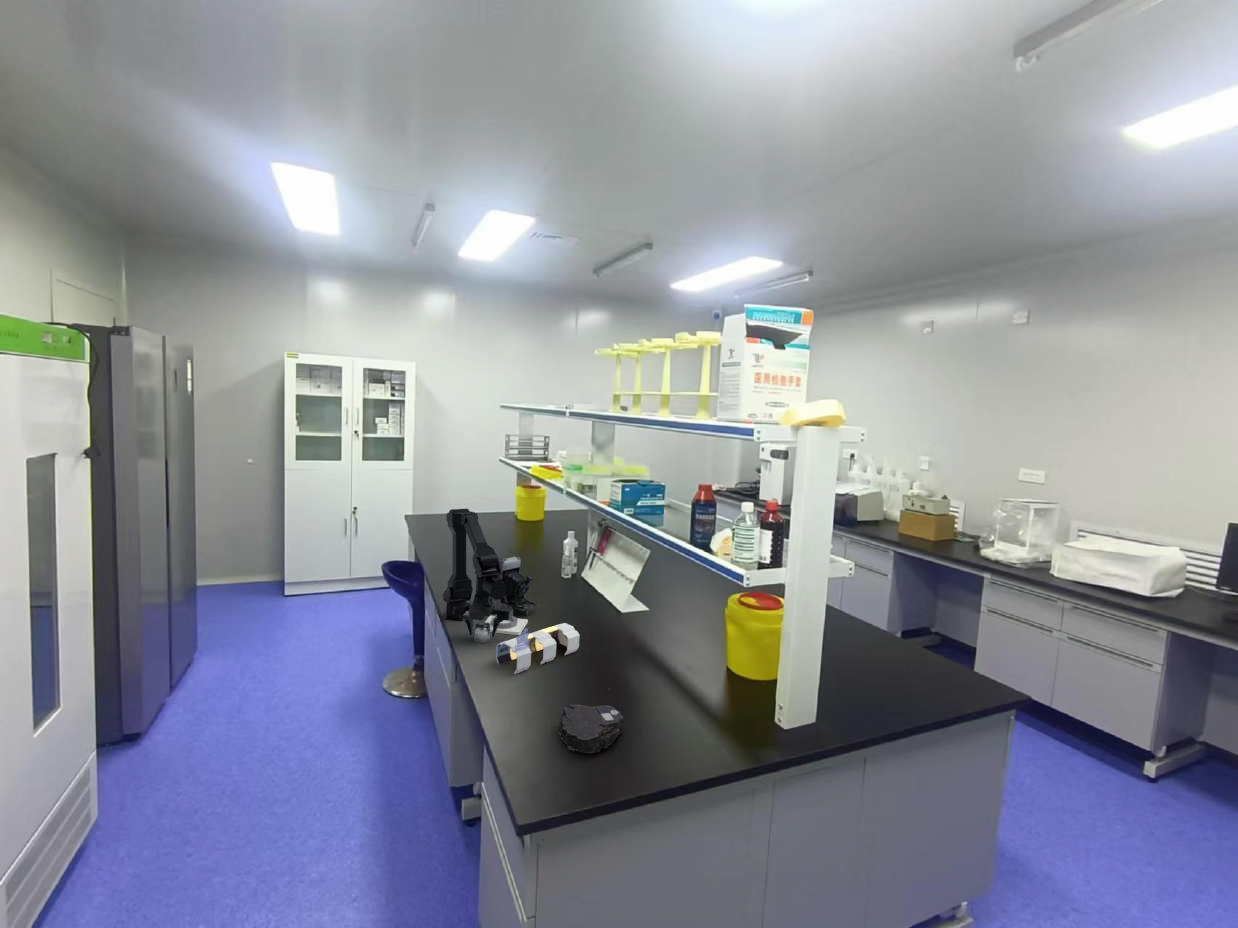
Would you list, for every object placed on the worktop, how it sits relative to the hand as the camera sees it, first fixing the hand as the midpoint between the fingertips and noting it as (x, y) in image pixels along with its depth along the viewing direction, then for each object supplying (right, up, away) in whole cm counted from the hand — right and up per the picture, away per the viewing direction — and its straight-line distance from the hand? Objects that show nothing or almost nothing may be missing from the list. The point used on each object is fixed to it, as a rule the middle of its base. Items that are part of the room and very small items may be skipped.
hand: (482, 635), depth 185 cm
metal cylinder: (0, -1, 0) cm, 1 cm away
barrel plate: (+5, 0, +12) cm, 13 cm away
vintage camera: (+6, +1, +28) cm, 28 cm away
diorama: (+20, -4, -10) cm, 23 cm away
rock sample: (+38, -9, -49) cm, 63 cm away
